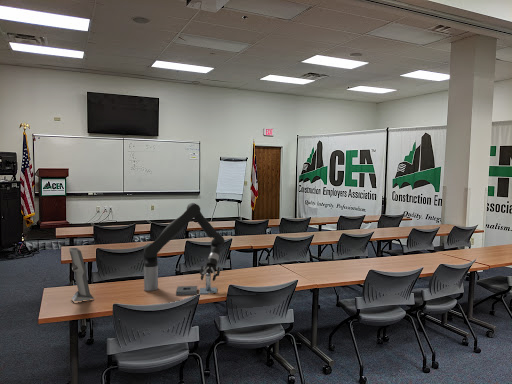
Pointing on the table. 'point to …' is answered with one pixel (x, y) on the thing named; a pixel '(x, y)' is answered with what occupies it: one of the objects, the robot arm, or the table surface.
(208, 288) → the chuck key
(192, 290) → the chuck plate
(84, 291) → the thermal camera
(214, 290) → the rubber mat
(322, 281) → the table surface
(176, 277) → the table surface
